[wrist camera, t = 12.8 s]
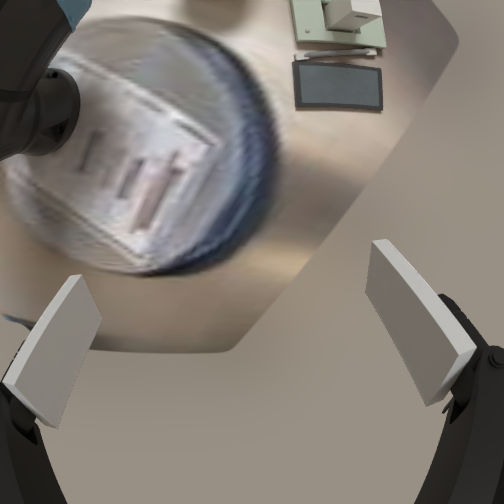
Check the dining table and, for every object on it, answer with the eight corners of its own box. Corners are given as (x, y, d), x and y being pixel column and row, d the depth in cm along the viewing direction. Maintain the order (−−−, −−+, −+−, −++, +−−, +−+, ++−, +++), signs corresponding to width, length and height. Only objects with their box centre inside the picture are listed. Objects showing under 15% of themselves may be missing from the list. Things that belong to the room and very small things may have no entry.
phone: (294, 106, 37) (296, 106, 36) (291, 62, 33) (293, 61, 32) (379, 110, 37) (383, 110, 36) (377, 69, 34) (381, 68, 32)
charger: (327, 29, 30) (352, 11, 21) (324, 7, 28) (347, -15, 19) (352, 31, 30) (382, 16, 21) (348, 10, 28) (376, -9, 19)
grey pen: (295, 60, 33) (297, 59, 32) (294, 54, 32) (295, 53, 31) (374, 55, 32) (377, 54, 31) (373, 49, 31) (375, 48, 31)
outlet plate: (296, 41, 31) (298, 39, 30) (284, -31, 24) (286, -35, 23) (382, 48, 31) (386, 47, 30) (368, -21, 24) (372, -24, 23)
